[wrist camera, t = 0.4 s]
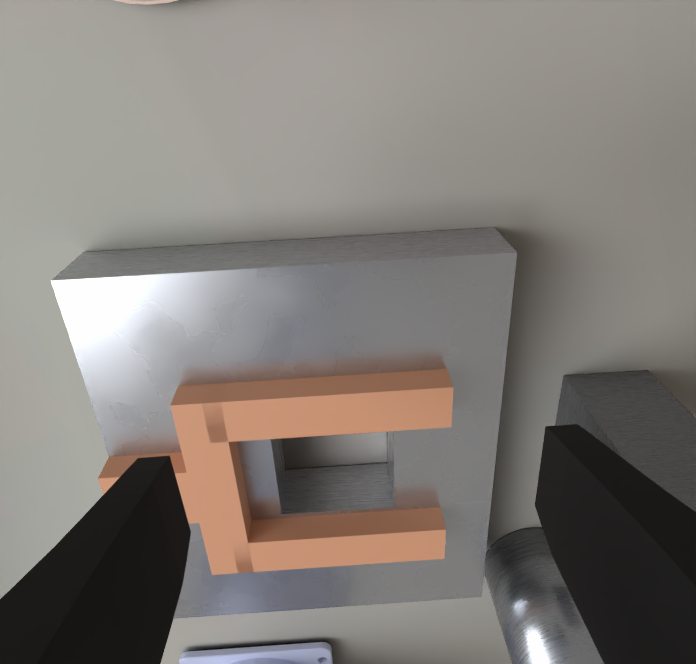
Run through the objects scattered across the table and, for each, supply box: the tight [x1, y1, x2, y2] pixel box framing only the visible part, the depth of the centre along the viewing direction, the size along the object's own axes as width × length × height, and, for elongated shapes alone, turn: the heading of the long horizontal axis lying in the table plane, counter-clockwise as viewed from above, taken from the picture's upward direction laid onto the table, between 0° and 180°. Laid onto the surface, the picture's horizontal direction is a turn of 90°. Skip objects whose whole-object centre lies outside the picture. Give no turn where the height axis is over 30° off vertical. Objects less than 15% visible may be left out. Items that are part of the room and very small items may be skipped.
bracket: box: [98, 369, 453, 575], centre depth 20 cm, size 8×12×1 cm, turn 93°
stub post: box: [484, 528, 604, 664], centre depth 24 cm, size 4×4×6 cm
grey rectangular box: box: [555, 370, 696, 512], centre depth 19 cm, size 3×3×8 cm
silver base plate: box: [51, 227, 517, 618], centre depth 21 cm, size 16×14×2 cm
